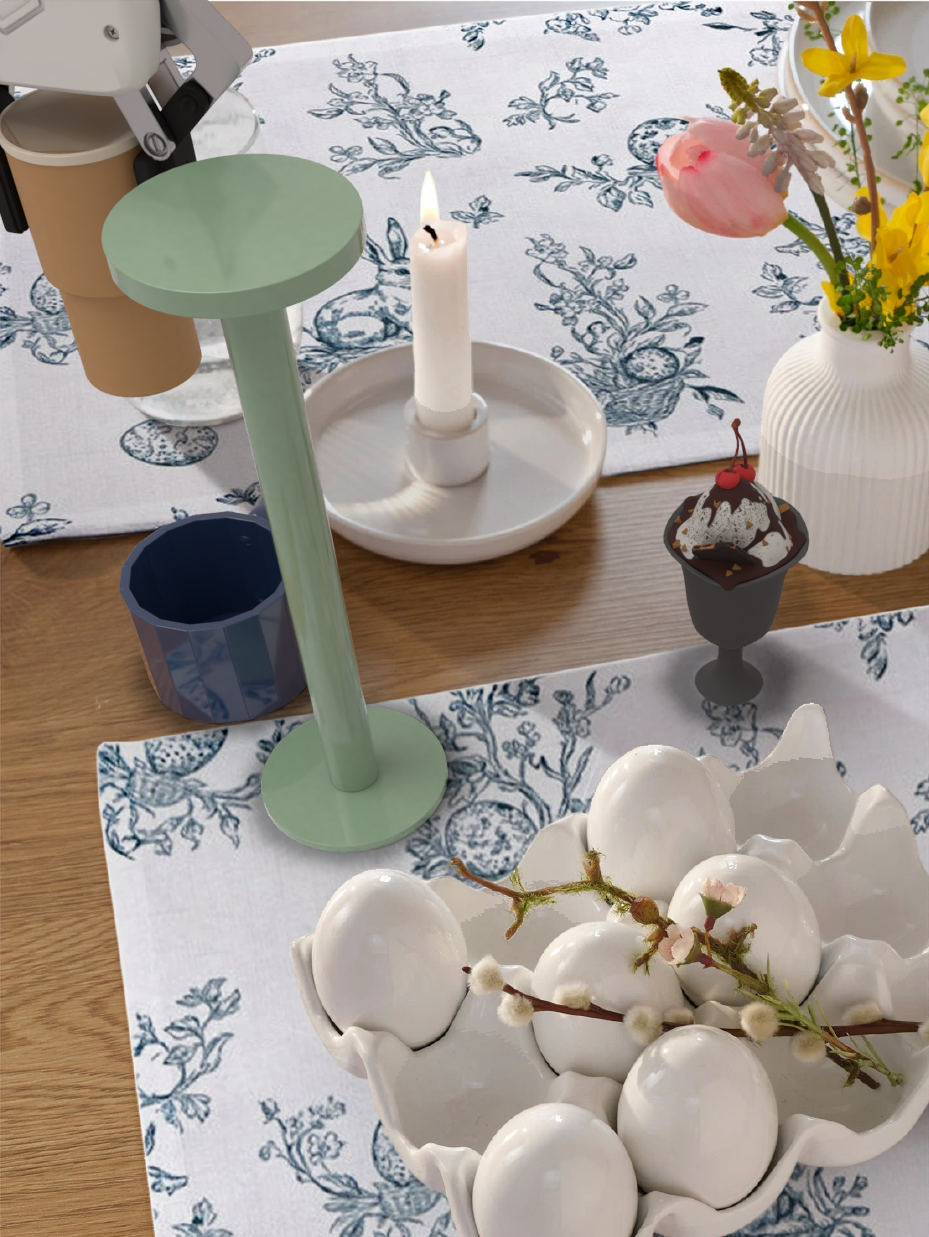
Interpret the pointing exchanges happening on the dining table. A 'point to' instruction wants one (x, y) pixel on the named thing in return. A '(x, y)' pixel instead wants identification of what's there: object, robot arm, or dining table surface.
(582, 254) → the dining table surface
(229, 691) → the mug
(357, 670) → the green pedestal stand
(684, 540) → the sundae
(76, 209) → the paper cup
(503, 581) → the dining table surface
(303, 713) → the dining table surface
